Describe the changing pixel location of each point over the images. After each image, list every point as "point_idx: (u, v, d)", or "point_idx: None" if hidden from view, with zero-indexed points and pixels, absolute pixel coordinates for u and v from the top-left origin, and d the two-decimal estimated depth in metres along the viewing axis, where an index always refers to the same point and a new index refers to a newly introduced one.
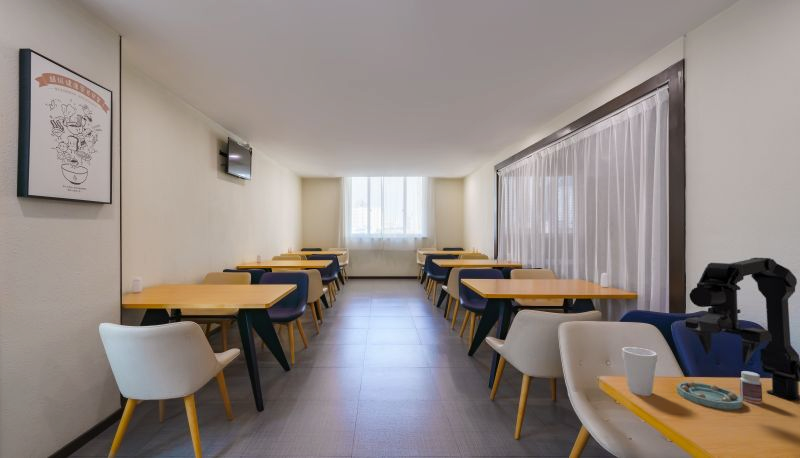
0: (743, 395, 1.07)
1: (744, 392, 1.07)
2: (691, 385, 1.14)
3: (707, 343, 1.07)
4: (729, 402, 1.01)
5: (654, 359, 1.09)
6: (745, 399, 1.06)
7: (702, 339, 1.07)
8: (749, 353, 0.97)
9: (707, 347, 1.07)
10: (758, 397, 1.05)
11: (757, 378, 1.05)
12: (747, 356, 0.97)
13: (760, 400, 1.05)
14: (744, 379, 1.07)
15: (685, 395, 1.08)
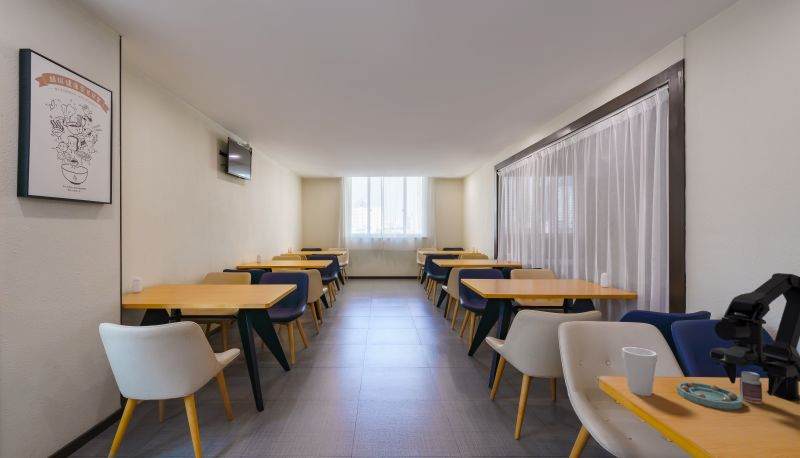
0: (743, 395, 1.07)
1: (744, 392, 1.07)
2: (691, 385, 1.14)
3: (732, 373, 1.12)
4: (729, 402, 1.01)
5: (655, 359, 1.09)
6: (745, 399, 1.06)
7: (727, 369, 1.12)
8: (775, 386, 1.02)
9: (733, 377, 1.11)
10: (758, 397, 1.05)
11: (757, 378, 1.05)
12: (773, 389, 1.02)
13: (760, 400, 1.05)
14: (744, 379, 1.07)
15: (685, 395, 1.08)
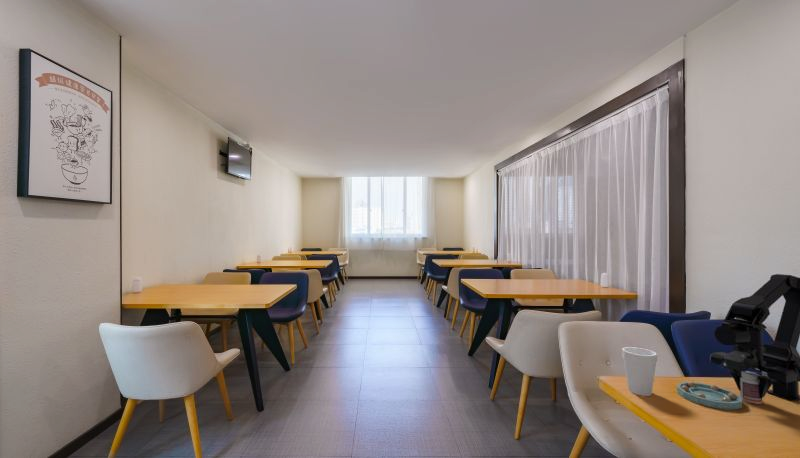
0: (743, 395, 1.07)
1: (744, 392, 1.07)
2: (691, 385, 1.14)
3: None
4: (729, 402, 1.01)
5: (654, 359, 1.09)
6: (745, 399, 1.06)
7: (735, 376, 1.10)
8: (766, 388, 1.04)
9: None
10: (758, 397, 1.05)
11: (757, 378, 1.05)
12: (764, 391, 1.04)
13: (760, 400, 1.05)
14: (744, 379, 1.07)
15: (685, 395, 1.08)
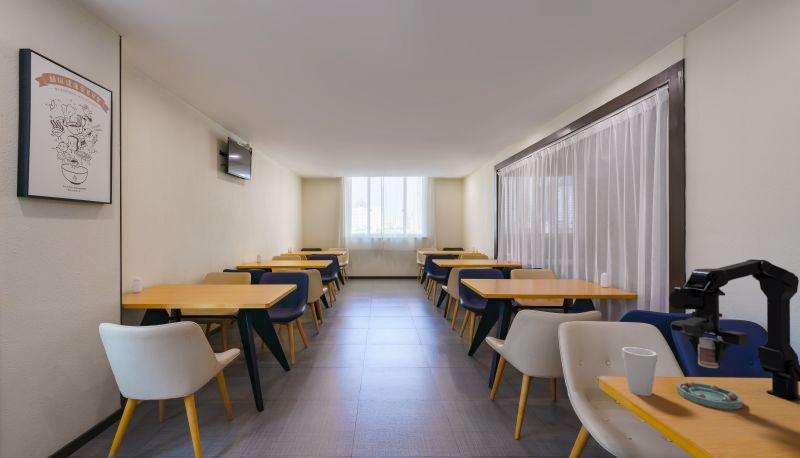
0: (700, 360, 1.09)
1: (701, 357, 1.08)
2: (691, 385, 1.14)
3: None
4: (729, 402, 1.01)
5: (655, 359, 1.09)
6: (702, 364, 1.08)
7: (693, 343, 1.11)
8: (721, 352, 1.05)
9: None
10: (714, 362, 1.06)
11: (713, 343, 1.07)
12: (719, 355, 1.05)
13: (716, 364, 1.06)
14: (701, 345, 1.09)
15: (685, 395, 1.08)
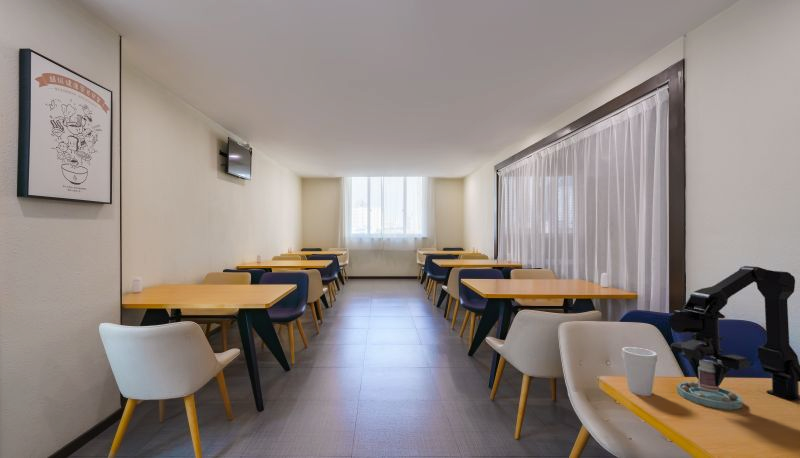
0: (700, 383, 1.09)
1: (701, 380, 1.08)
2: (691, 385, 1.14)
3: None
4: (729, 402, 1.01)
5: (654, 359, 1.09)
6: (702, 387, 1.08)
7: (694, 365, 1.11)
8: (721, 376, 1.05)
9: None
10: (714, 385, 1.06)
11: (713, 366, 1.07)
12: (719, 379, 1.05)
13: (716, 388, 1.06)
14: (701, 368, 1.09)
15: (685, 395, 1.08)
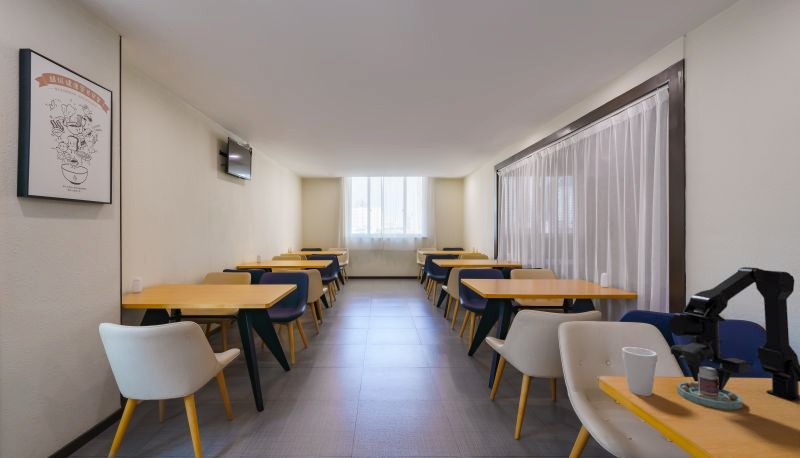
0: (700, 390, 1.08)
1: (701, 387, 1.08)
2: (691, 385, 1.14)
3: (695, 371, 1.12)
4: (729, 402, 1.01)
5: (655, 359, 1.09)
6: None
7: (691, 367, 1.12)
8: (724, 380, 1.04)
9: (696, 375, 1.12)
10: (714, 392, 1.06)
11: (713, 373, 1.07)
12: (722, 383, 1.05)
13: (716, 395, 1.06)
14: (701, 375, 1.08)
15: (685, 395, 1.08)
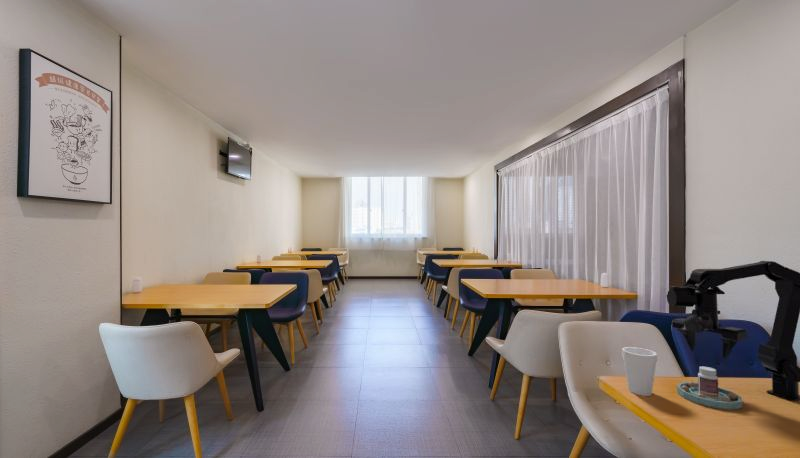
0: (700, 390, 1.08)
1: (701, 387, 1.08)
2: (691, 385, 1.14)
3: (692, 341, 1.19)
4: (729, 402, 1.01)
5: (655, 359, 1.09)
6: None
7: (687, 338, 1.20)
8: (728, 349, 1.10)
9: (692, 345, 1.19)
10: (714, 392, 1.06)
11: (713, 373, 1.07)
12: (727, 352, 1.10)
13: (716, 395, 1.06)
14: (701, 375, 1.08)
15: (685, 395, 1.08)
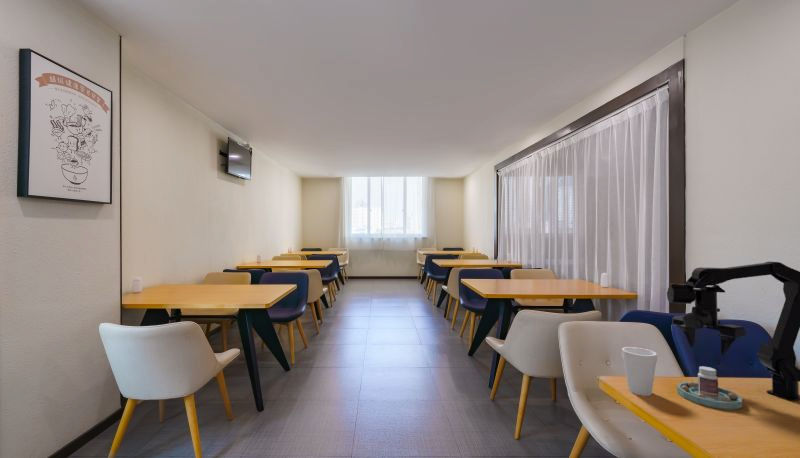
0: (700, 390, 1.08)
1: (701, 387, 1.08)
2: (691, 385, 1.14)
3: (691, 338, 1.22)
4: (729, 402, 1.01)
5: (654, 359, 1.09)
6: None
7: (687, 334, 1.22)
8: (726, 346, 1.12)
9: (692, 341, 1.22)
10: (714, 392, 1.06)
11: (713, 373, 1.07)
12: (725, 349, 1.12)
13: (716, 395, 1.06)
14: (701, 375, 1.09)
15: (685, 395, 1.08)
